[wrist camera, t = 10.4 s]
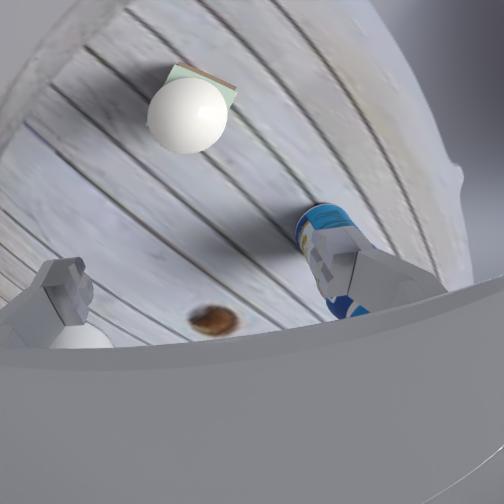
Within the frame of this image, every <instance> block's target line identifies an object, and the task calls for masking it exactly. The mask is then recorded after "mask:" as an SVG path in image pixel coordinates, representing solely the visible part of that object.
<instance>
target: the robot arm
mask: <svg viewBox="0 0 504 504" xmlns="http://www.w3.org/2000/svg"><path fill="white" fill-rule="evenodd" d="M312 243H313V244H314V246H315V247H314V248H313V249H312V250H311V252H310V267H311V271H312V273H313V275H314V277H315V278H317V279H319V287H320V289H321V291H322V293H323V295H324V297H325V298H331V297H337V296H344V295H348V297H350V298H351V299H353V300H354V301H355V302H357V303H358V304H359V305H361V306H362V307H364V308H365V309H366V310H368V311H369V312H371V313H367V314H363V315H359V316H354V317H350V318H345V319H340V320H335V321H330V322H325V323H320V324H315V325H309V326H304V327H298V328H292V329H286V330H280V331H274V332H267V333H261V334H254V335H247V336H239V337H232V338H224V339H215V340H207V341H198V342H188V343H177V344H165V345H152V346H137V347H117V348H115V347H114V346H113V345H112V344H111V342H110V341H109V339H108V338H107V337H106V336H105V335H104V334H103V333H102V332H101V331H100V330H98V329H97V328H95V327H94V326H92V325H90V324H89V323H86V319H87V315H88V312H89V311H88V309H87V306H88V305H89V304H90V303H91V302H92V299H93V285H92V281H91V279H90V277H89V276H88V275H87V274H86V273H84V270H85V267H86V266H85V264H84V262H83V260H82V258H80V257H73V258H64V259H54V260H48V261H45V262H44V263H43V264H42V266H41V268H40V270H39V271H38V273H37V275H36V277H35V278H34V280H33V282H32V284H31V286H30V287H29V289H25V290H24V291H23V292H21V293H20V294H19V295H18V296H17V297H15V298H14V299H13V300H12V301H11V302H9V303H8V304H7V305H6V306H5V307H3V308H2V309H1V310H0V504H504V274H502V275H500V276H497V277H494V278H491V279H489V280H485V281H482V282H480V283H476V284H473V285H470V286H467V287H464V288H461V289H458V290H454V291H451V292H448V291H447V290H446V289H445V288H444V286H443V285H442V284H441V283H440V282H439V280H438V279H437V278H436V277H435V276H434V275H433V274H432V273H430V272H428V271H426V270H423V269H421V268H419V267H417V266H415V265H413V264H411V263H409V262H406V261H404V260H402V259H400V258H398V257H396V256H393V255H391V254H389V253H387V252H384V251H382V250H380V249H374V248H373V246H372V245H371V244H370V243H369V242H368V241H367V239H366V238H365V237H364V236H363V235H362V234H361V232H360V231H359V230H358V229H357V228H356V227H355V226H345V227H338V228H330V229H321V230H314V231H313V234H312Z"/></svg>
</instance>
